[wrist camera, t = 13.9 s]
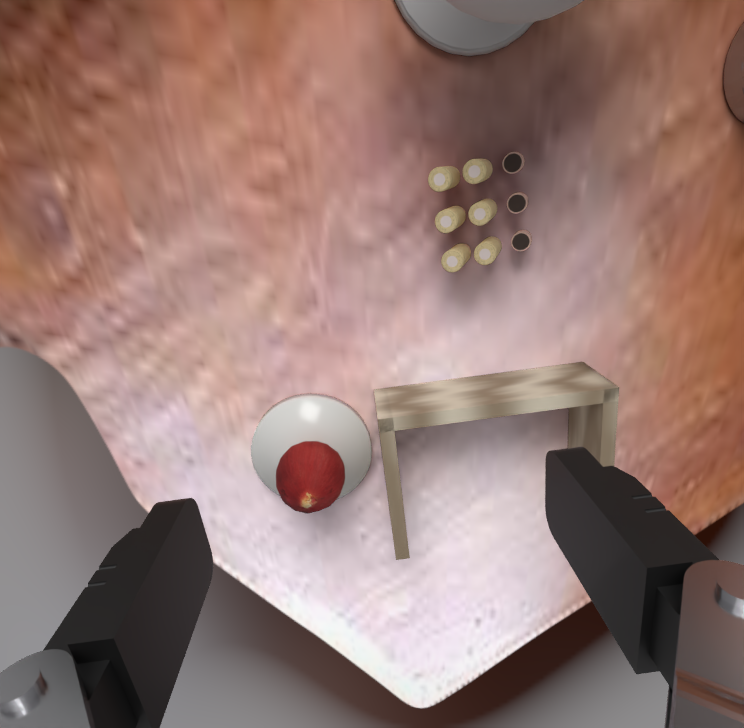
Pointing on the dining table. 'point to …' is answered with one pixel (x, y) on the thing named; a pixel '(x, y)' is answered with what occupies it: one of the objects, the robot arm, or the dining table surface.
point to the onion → (310, 476)
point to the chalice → (476, 21)
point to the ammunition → (477, 210)
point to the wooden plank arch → (496, 414)
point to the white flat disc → (312, 436)
